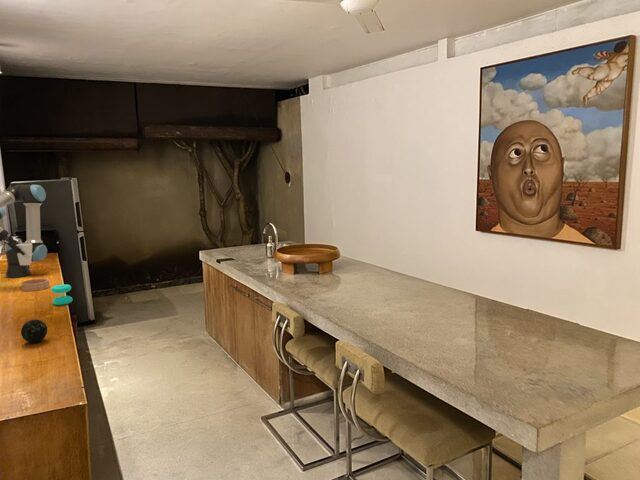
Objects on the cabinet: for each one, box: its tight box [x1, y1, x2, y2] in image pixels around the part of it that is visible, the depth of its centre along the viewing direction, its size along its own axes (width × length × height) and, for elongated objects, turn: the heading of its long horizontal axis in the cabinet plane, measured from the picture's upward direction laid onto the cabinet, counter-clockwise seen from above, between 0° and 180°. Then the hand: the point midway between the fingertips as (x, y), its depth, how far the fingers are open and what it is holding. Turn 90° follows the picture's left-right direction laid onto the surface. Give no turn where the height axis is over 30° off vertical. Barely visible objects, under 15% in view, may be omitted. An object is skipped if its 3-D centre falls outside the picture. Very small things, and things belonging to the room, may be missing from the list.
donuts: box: [50, 284, 74, 306], centre depth 277 cm, size 10×10×10 cm
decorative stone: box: [20, 319, 48, 344], centre depth 216 cm, size 10×10×10 cm
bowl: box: [21, 278, 50, 292], centre depth 314 cm, size 15×15×4 cm
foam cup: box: [17, 243, 32, 266], centre depth 315 cm, size 10×9×13 cm
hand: (30, 256), depth 317 cm, fingers closed on foam cup, 9 cm apart
